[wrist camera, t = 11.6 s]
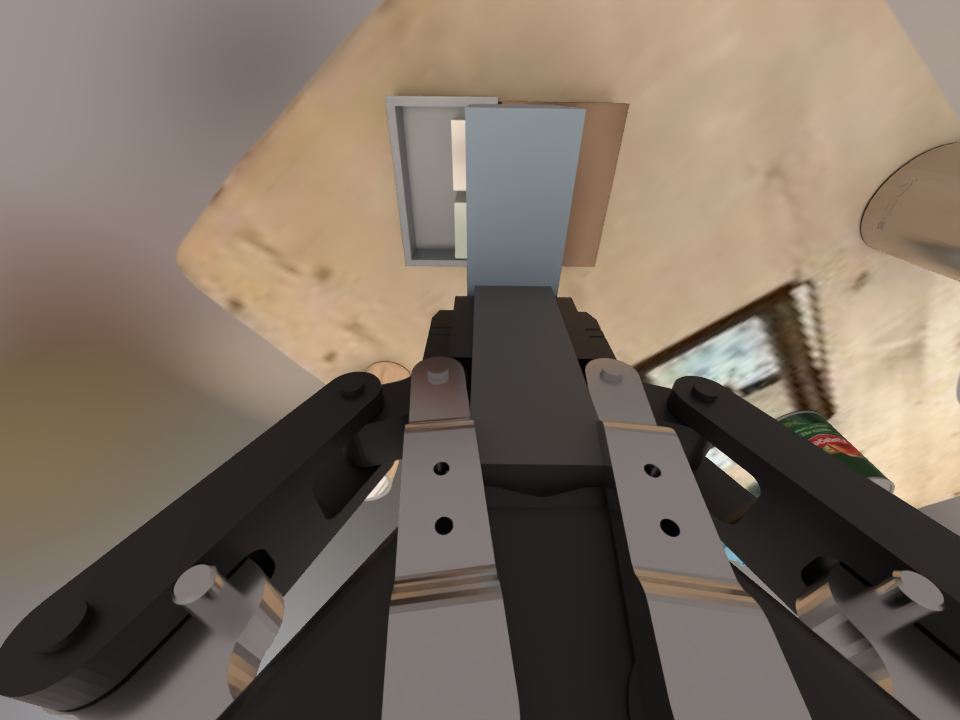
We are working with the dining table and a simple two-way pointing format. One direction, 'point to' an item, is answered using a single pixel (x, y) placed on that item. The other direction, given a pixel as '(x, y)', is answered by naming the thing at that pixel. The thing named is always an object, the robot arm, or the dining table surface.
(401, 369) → the beer glass
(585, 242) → the brown wooden block
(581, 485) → the scraper
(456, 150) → the tile
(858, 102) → the dining table surface
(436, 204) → the box
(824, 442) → the canned tomato
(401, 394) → the robot arm
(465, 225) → the tile
